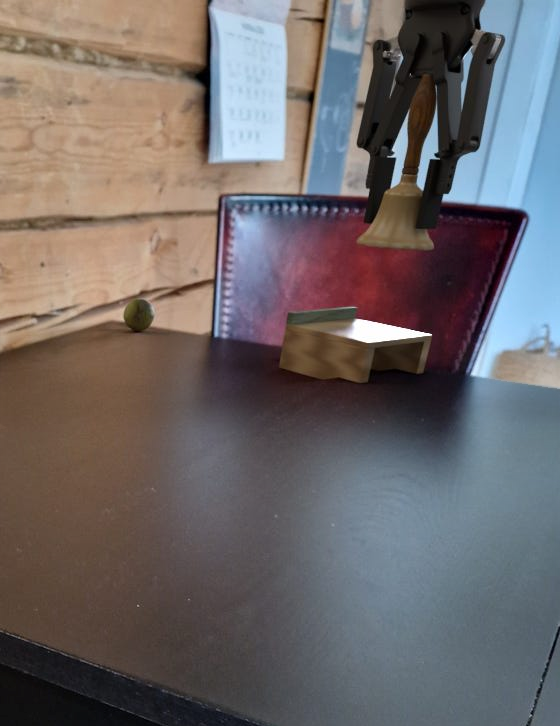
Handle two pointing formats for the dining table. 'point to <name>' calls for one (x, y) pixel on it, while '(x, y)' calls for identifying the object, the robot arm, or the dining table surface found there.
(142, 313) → the lime
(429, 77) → the hand bell
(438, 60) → the robot arm
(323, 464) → the dining table surface
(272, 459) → the dining table surface
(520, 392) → the dining table surface
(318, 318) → the shelf
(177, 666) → the dining table surface
